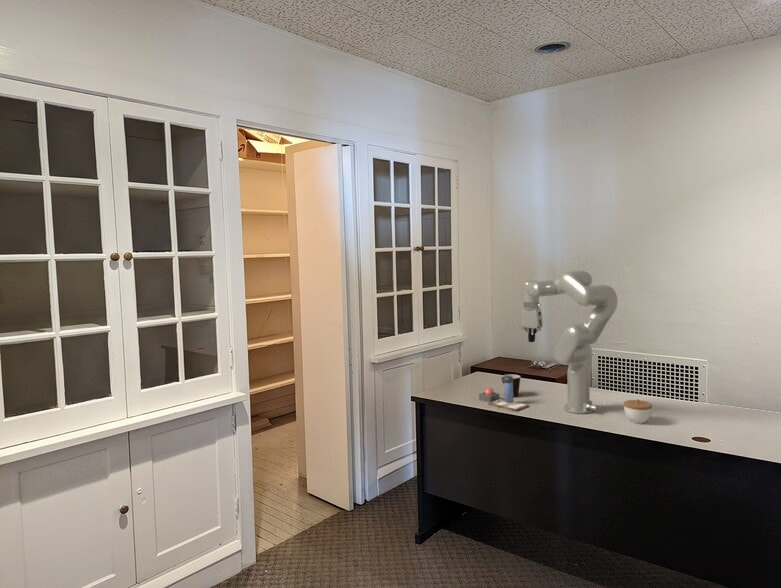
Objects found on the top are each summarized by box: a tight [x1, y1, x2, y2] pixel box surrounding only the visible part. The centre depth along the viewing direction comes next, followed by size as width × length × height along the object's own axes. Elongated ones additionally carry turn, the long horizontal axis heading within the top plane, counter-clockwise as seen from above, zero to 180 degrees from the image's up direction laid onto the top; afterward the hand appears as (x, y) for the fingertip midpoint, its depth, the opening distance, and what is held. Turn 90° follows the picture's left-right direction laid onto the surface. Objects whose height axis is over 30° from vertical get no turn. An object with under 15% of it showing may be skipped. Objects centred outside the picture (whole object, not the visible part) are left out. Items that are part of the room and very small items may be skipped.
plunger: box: [484, 387, 494, 395], centre depth 266 cm, size 4×4×5 cm
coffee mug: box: [501, 373, 521, 399], centre depth 273 cm, size 12×9×10 cm
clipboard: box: [487, 398, 530, 412], centre depth 256 cm, size 16×10×1 cm, turn 41°
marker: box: [503, 376, 514, 403], centre depth 258 cm, size 4×4×12 cm
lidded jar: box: [623, 398, 653, 425], centre depth 227 cm, size 11×11×9 cm
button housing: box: [478, 391, 500, 403], centre depth 267 cm, size 7×7×3 cm
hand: (531, 341), depth 271 cm, fingers closed
